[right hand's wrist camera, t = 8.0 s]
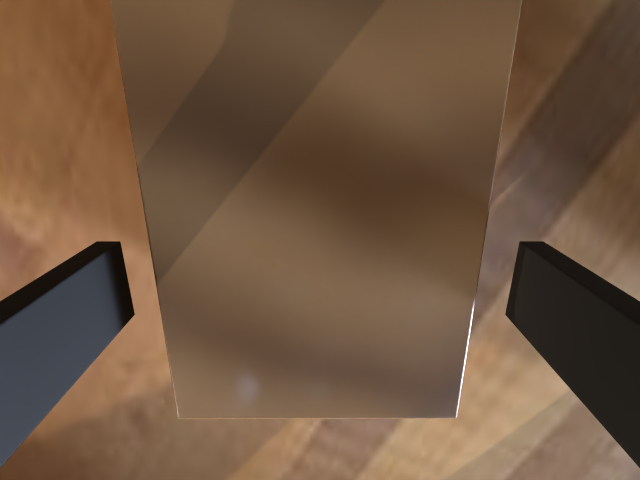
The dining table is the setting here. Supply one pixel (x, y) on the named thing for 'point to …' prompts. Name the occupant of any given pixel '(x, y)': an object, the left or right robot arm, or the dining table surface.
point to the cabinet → (316, 195)
